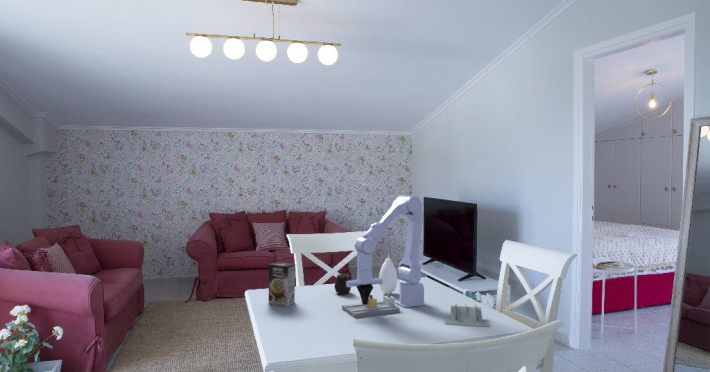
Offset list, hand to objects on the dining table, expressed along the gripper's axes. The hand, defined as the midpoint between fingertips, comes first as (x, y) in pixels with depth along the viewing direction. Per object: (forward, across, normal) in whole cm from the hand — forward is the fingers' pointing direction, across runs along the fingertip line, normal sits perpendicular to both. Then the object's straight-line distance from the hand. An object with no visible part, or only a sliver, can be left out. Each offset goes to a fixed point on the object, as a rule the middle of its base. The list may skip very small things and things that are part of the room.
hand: (364, 303), depth 185 cm
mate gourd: (+3, -2, -28) cm, 28 cm away
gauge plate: (+3, -2, 0) cm, 4 cm away
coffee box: (+3, +26, -23) cm, 35 cm away
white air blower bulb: (+3, -20, -20) cm, 29 cm away
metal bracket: (+4, -30, +24) cm, 38 cm away
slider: (+1, -3, 0) cm, 3 cm away
